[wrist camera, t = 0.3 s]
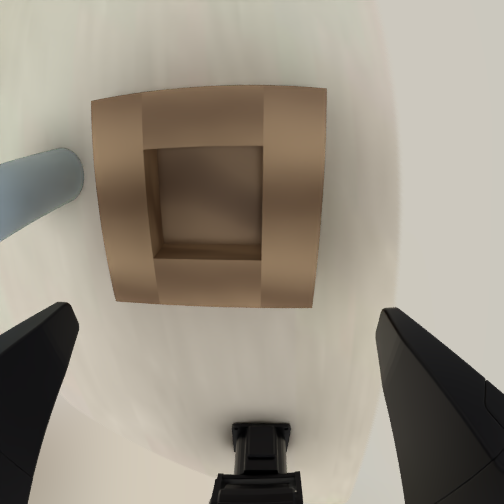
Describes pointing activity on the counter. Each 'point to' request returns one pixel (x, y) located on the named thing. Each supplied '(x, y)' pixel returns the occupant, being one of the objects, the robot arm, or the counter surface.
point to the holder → (212, 194)
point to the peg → (37, 187)
